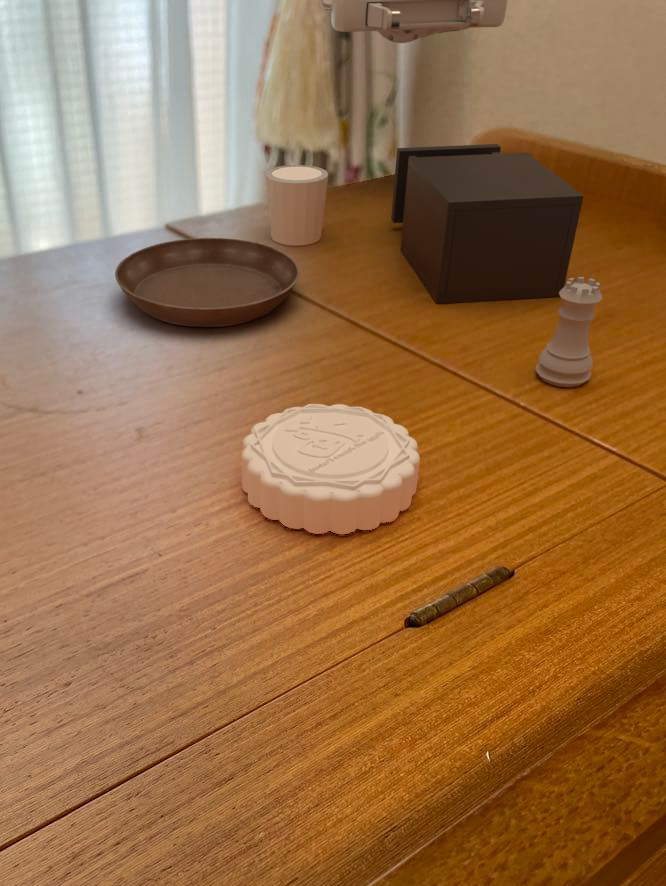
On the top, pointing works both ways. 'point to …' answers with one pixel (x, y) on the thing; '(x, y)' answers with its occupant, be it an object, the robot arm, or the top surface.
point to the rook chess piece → (571, 336)
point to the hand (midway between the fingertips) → (435, 19)
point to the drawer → (407, 153)
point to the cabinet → (488, 227)
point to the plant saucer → (207, 280)
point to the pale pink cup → (296, 203)
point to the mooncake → (330, 468)
